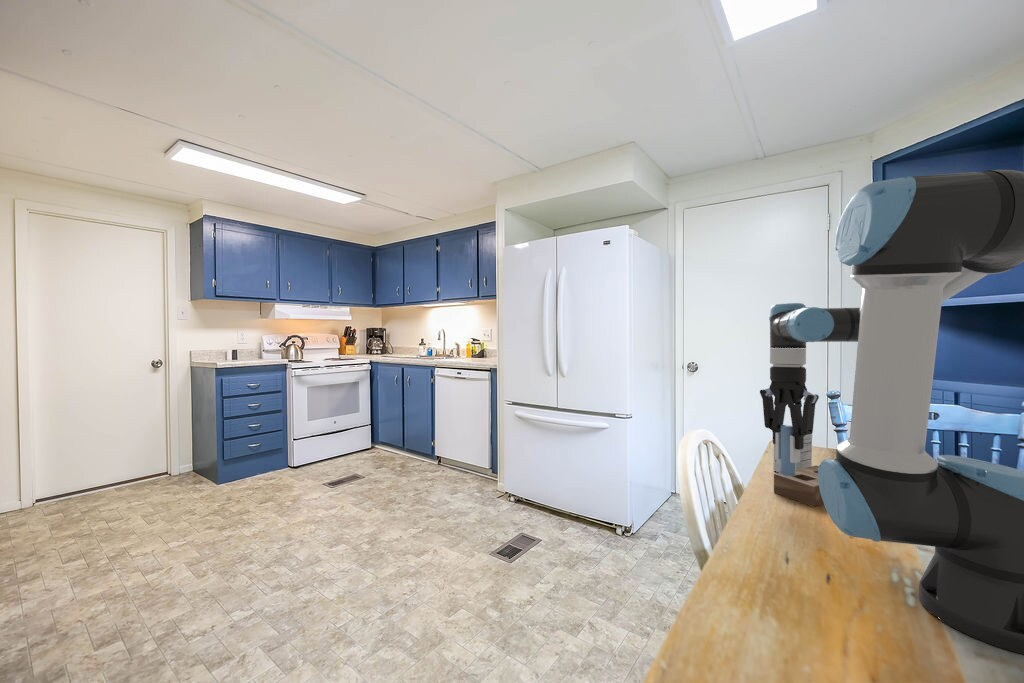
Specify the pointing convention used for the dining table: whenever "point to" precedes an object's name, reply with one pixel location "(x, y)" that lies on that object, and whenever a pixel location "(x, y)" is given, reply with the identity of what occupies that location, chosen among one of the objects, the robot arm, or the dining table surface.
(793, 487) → the hole block
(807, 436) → the supplement box
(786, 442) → the peg
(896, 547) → the dining table surface
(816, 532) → the dining table surface
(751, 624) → the dining table surface
